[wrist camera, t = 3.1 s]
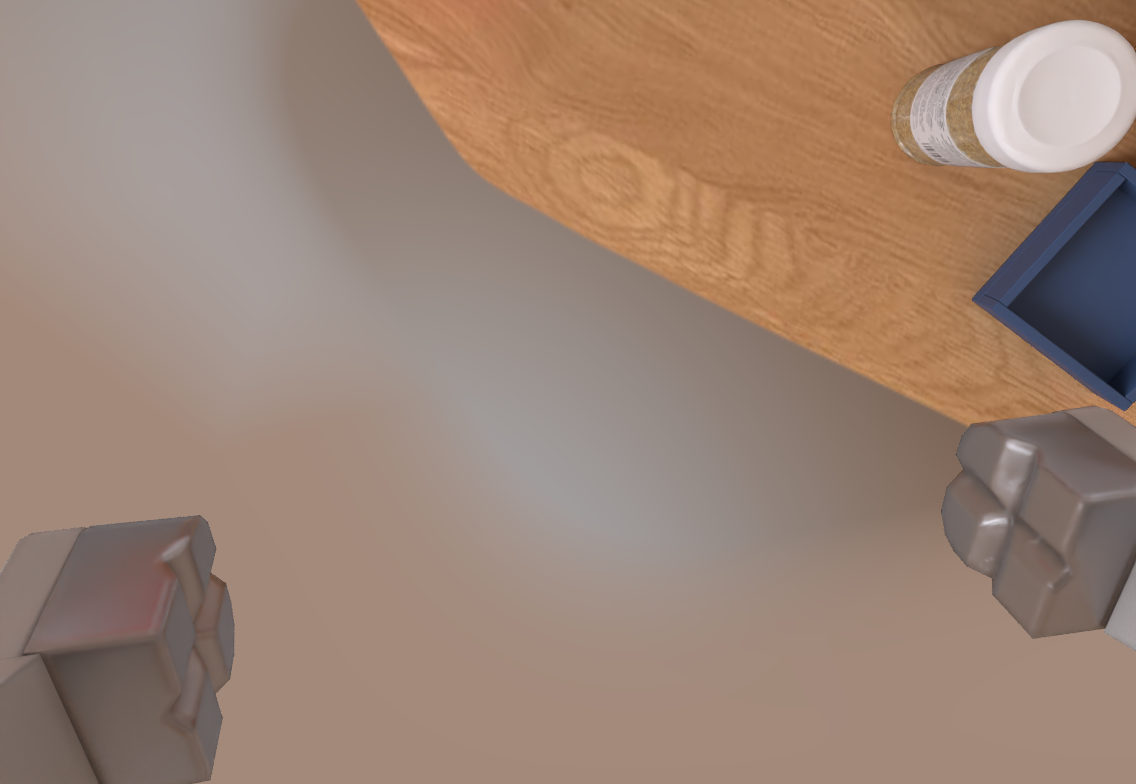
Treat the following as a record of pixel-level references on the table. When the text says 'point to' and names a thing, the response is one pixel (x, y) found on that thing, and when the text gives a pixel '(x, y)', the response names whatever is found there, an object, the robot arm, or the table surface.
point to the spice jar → (1023, 102)
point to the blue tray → (1078, 284)
